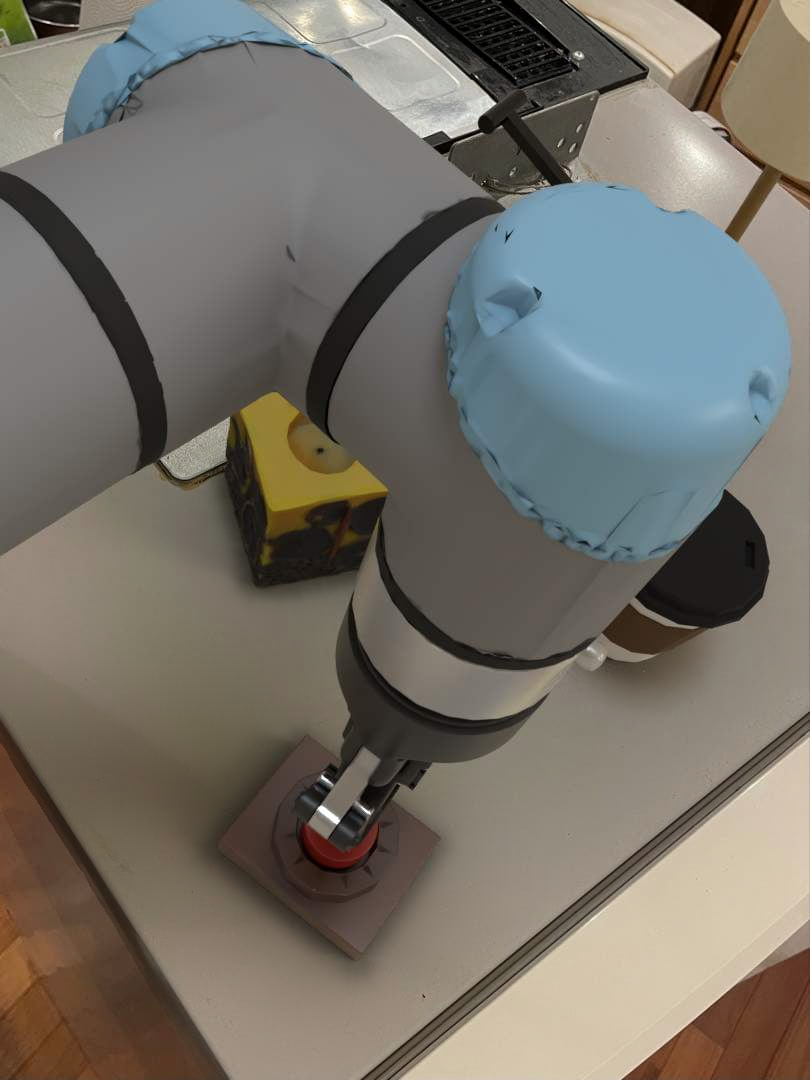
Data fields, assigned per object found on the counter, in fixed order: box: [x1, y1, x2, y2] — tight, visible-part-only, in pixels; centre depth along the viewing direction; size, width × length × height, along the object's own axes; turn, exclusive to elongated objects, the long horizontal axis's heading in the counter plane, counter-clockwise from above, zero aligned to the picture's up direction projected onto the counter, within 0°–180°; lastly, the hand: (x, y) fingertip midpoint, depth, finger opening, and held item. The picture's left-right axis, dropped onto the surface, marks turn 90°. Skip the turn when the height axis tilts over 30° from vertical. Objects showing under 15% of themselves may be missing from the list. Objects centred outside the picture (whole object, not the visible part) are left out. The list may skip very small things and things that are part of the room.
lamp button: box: [301, 820, 378, 869], centre depth 54 cm, size 4×4×2 cm
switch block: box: [217, 734, 442, 961], centre depth 57 cm, size 10×8×4 cm
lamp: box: [720, 0, 810, 244], centre depth 71 cm, size 11×11×32 cm
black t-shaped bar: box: [477, 88, 575, 187], centre depth 74 cm, size 14×5×2 cm, turn 55°
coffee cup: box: [595, 488, 771, 663], centre depth 66 cm, size 11×11×12 cm
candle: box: [224, 392, 388, 587], centre depth 66 cm, size 10×10×10 cm
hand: (347, 818), depth 53 cm, fingers closed
